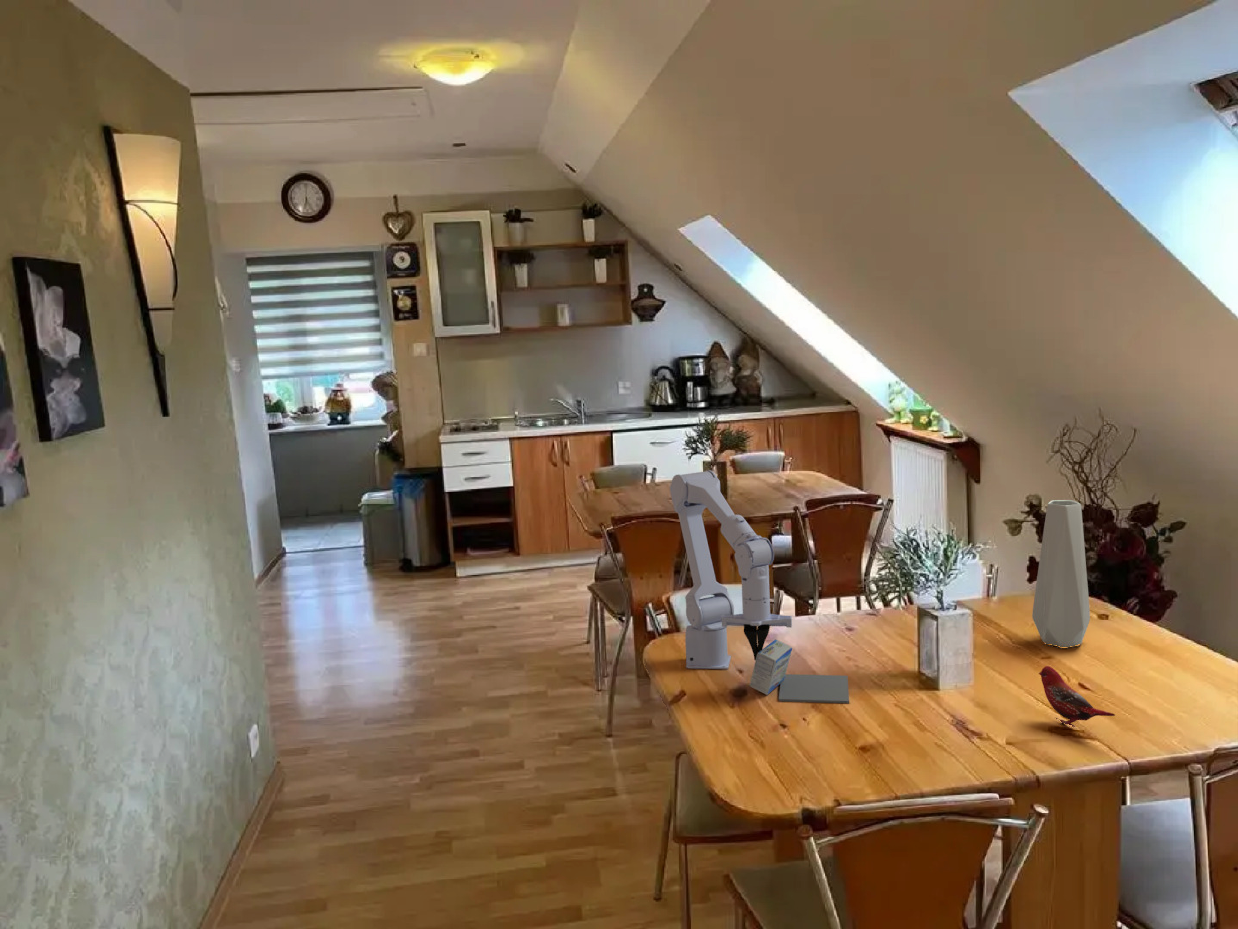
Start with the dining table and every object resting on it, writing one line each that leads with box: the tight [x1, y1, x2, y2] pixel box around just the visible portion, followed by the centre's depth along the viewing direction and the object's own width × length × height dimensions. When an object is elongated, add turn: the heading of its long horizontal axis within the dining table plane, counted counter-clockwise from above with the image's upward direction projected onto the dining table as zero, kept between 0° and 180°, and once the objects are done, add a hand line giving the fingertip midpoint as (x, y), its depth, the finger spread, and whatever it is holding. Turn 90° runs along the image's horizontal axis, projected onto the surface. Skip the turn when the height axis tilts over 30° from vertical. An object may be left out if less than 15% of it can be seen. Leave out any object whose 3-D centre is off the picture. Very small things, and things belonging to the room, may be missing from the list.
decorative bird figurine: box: [1038, 665, 1116, 728], centre depth 176 cm, size 3×18×10 cm, turn 20°
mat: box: [778, 673, 850, 704], centre depth 202 cm, size 14×14×1 cm
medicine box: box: [749, 639, 793, 696], centre depth 202 cm, size 8×4×9 cm, turn 143°
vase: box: [1031, 499, 1091, 647], centre depth 219 cm, size 12×12×33 cm
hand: (758, 658), depth 203 cm, fingers closed
